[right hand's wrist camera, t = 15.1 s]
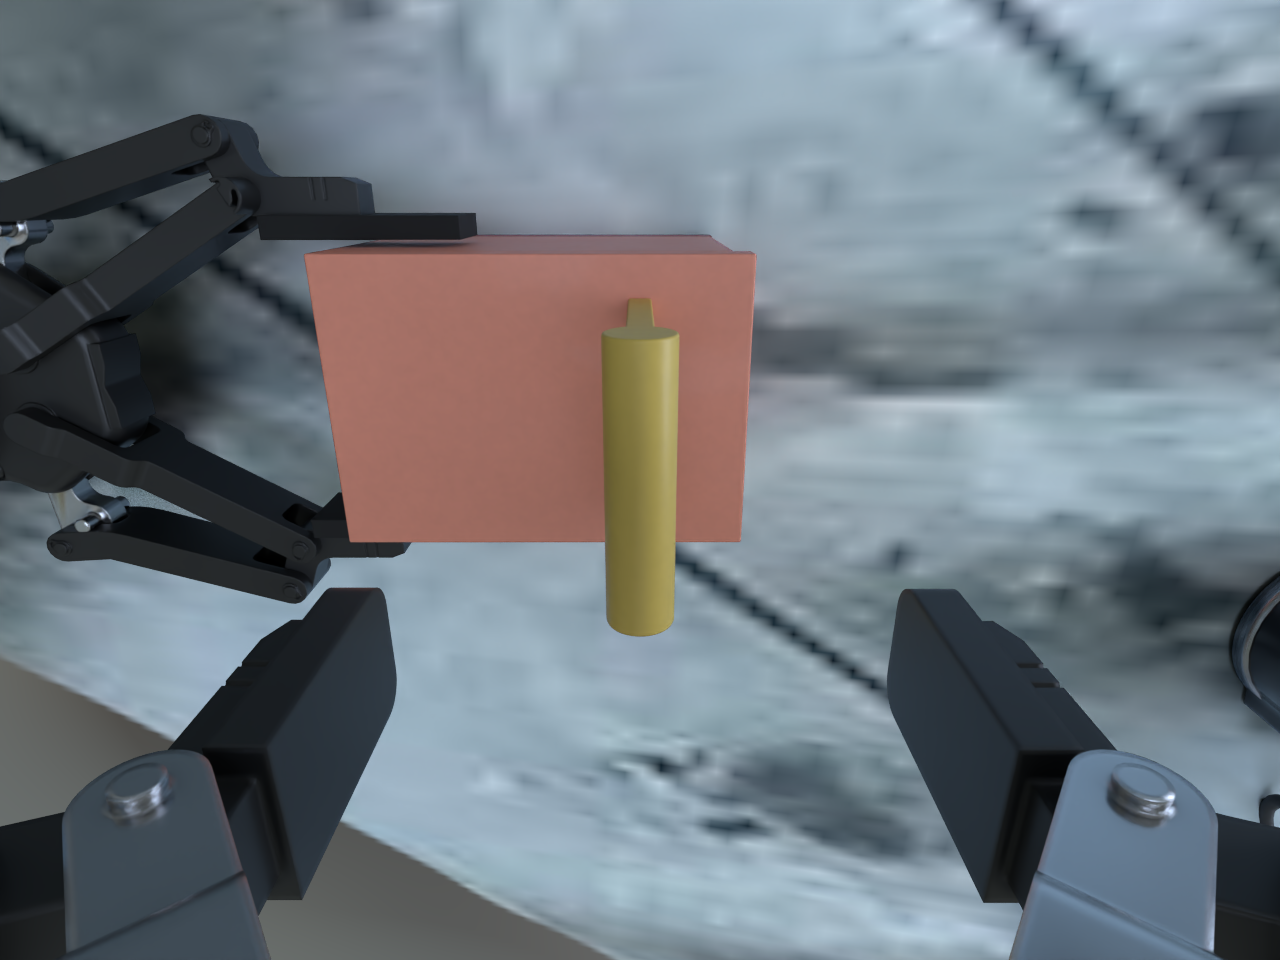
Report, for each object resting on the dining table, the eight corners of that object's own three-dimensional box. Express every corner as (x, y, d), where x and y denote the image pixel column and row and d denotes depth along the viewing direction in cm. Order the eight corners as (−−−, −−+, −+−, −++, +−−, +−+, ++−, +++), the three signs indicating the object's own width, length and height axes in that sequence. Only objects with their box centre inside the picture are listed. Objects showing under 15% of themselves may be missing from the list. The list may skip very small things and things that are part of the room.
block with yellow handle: (752, 251, 23) (812, 283, 15) (737, 529, 26) (779, 676, 18) (317, 251, 23) (145, 283, 15) (360, 529, 26) (238, 677, 18)
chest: (709, 234, 31) (735, 250, 23) (702, 447, 34) (722, 529, 26) (403, 234, 31) (317, 250, 23) (427, 447, 34) (360, 529, 26)
